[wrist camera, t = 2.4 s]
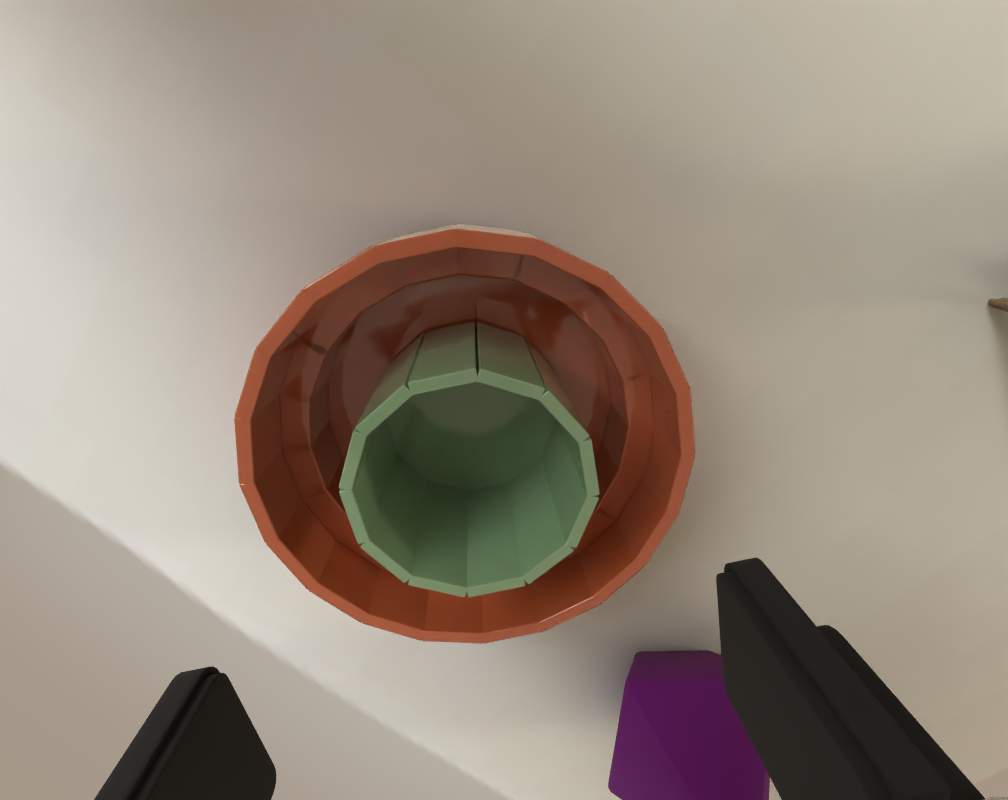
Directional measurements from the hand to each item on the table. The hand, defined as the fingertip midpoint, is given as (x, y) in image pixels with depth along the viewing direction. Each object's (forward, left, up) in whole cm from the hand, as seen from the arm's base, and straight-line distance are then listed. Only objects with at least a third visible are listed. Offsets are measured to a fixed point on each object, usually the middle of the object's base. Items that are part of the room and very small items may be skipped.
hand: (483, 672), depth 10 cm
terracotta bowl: (0, 0, -13) cm, 13 cm away
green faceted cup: (0, 0, -13) cm, 13 cm away
